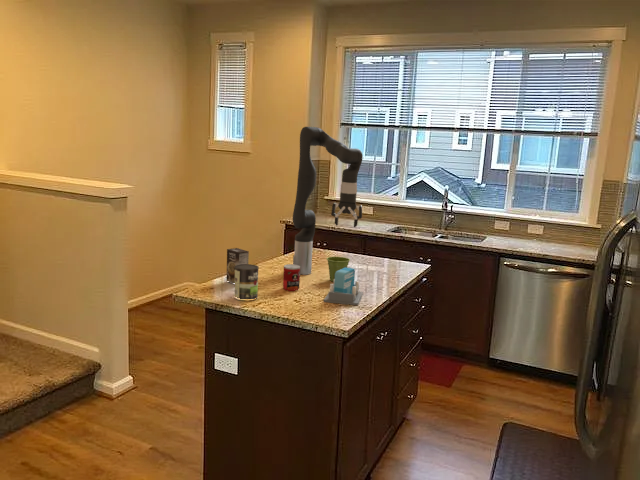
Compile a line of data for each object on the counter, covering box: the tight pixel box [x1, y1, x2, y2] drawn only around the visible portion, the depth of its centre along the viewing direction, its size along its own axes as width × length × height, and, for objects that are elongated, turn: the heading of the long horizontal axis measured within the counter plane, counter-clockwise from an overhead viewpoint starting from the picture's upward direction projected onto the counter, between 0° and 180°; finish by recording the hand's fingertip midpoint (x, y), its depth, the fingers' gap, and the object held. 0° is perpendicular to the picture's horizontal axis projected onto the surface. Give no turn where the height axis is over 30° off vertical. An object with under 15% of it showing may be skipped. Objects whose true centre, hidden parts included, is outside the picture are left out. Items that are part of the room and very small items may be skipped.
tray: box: [323, 279, 364, 306], centre depth 249 cm, size 15×18×7 cm
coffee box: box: [225, 247, 250, 284], centre depth 264 cm, size 9×6×16 cm
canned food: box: [282, 263, 301, 292], centre depth 259 cm, size 8×8×11 cm
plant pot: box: [326, 256, 351, 283], centre depth 278 cm, size 12×12×11 cm
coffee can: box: [234, 263, 259, 299], centre depth 241 cm, size 10×10×14 cm
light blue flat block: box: [333, 267, 356, 294], centre depth 248 cm, size 12×4×12 cm, turn 153°
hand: (345, 226), depth 260 cm, fingers open, 8 cm apart
